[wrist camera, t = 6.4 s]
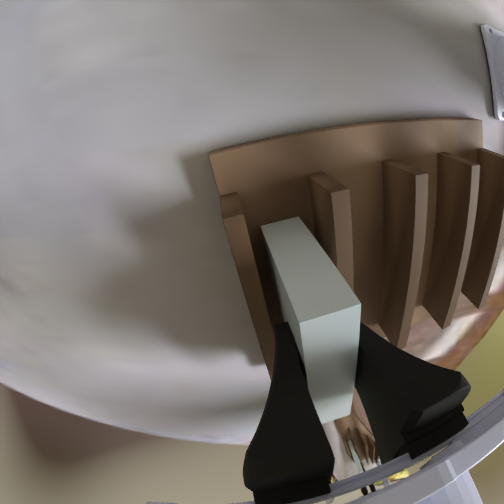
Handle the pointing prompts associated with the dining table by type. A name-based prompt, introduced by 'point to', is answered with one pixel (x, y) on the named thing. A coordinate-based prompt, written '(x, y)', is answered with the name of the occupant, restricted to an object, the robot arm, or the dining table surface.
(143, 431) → the dining table surface
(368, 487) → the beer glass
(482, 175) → the rack
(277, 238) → the tile
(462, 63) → the dining table surface
